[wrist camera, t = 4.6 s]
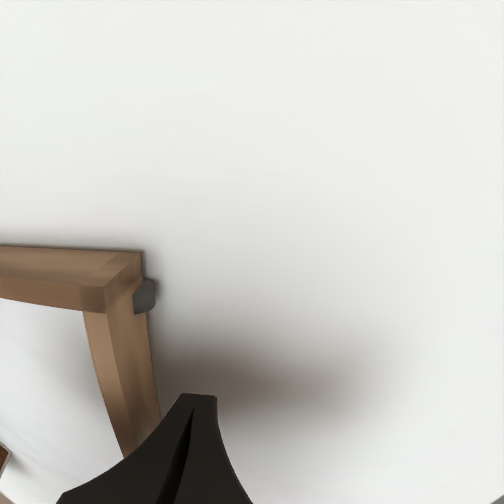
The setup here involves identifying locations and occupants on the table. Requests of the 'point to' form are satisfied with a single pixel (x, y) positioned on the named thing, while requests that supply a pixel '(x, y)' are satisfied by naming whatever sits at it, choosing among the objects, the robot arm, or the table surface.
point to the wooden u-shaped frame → (98, 322)
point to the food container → (4, 457)
